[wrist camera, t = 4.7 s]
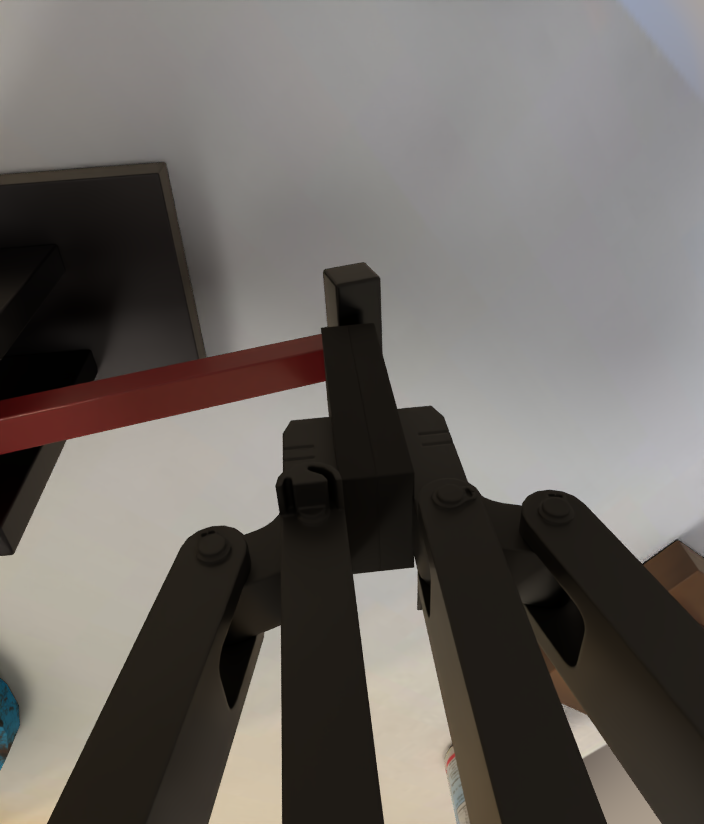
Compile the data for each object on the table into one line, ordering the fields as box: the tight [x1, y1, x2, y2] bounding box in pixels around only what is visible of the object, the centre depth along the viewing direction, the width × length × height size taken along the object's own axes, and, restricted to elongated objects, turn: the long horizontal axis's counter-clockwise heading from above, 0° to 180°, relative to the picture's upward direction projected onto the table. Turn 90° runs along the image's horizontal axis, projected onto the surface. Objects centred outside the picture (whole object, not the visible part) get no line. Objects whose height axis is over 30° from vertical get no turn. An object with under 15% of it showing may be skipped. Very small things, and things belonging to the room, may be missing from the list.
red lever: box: [0, 262, 383, 455], centre depth 18 cm, size 14×5×2 cm, turn 93°
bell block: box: [539, 540, 704, 715], centre depth 37 cm, size 12×8×4 cm, turn 141°
